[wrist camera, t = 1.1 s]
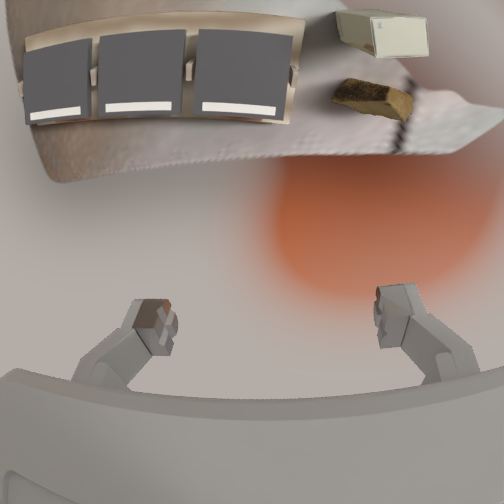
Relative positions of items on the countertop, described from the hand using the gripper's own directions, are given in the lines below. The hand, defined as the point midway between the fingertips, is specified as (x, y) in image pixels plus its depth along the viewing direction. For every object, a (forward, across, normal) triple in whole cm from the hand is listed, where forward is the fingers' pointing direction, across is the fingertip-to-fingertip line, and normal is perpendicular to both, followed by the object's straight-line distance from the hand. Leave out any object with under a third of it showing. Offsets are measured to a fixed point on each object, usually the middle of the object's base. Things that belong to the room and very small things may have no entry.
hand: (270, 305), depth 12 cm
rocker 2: (+28, +3, -6) cm, 28 cm away
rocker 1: (+25, +25, -12) cm, 38 cm away
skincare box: (+34, -12, -11) cm, 38 cm away
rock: (+36, -13, 0) cm, 38 cm away
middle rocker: (+26, +14, -9) cm, 31 cm away
